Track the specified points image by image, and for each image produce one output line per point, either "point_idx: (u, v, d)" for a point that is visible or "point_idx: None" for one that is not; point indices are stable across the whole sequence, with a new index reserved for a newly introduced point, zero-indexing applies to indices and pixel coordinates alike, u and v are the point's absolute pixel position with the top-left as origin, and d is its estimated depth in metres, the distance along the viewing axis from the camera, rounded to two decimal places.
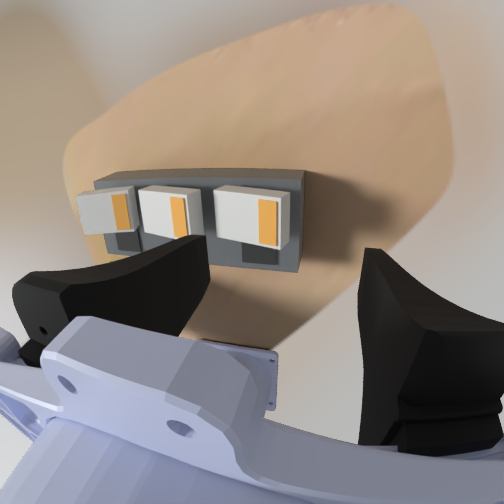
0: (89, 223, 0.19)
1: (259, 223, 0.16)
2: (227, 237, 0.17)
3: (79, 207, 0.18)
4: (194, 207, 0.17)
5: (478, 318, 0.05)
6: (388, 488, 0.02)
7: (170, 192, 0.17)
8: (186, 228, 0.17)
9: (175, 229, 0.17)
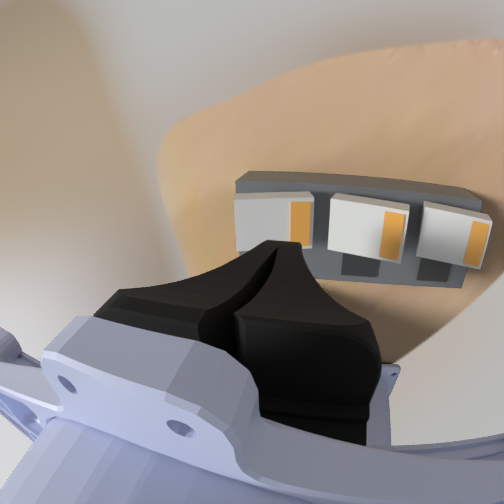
0: (248, 237, 0.16)
1: (467, 244, 0.13)
2: (428, 257, 0.14)
3: (237, 215, 0.15)
4: None
5: (335, 310, 0.05)
6: (388, 488, 0.02)
7: (382, 205, 0.14)
8: (398, 248, 0.14)
9: (382, 248, 0.14)
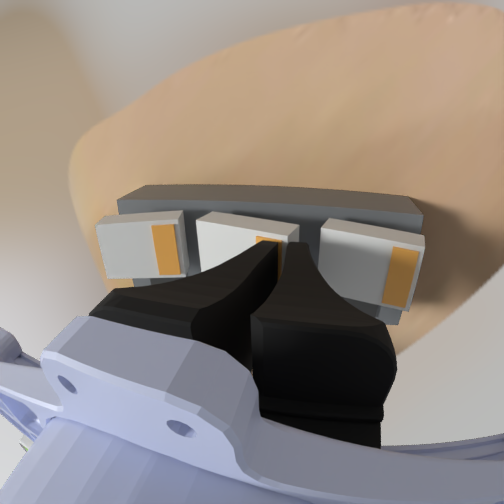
0: (116, 264, 0.13)
1: (386, 278, 0.11)
2: None
3: (100, 241, 0.13)
4: None
5: (350, 312, 0.05)
6: (388, 488, 0.02)
7: (255, 228, 0.11)
8: None
9: None
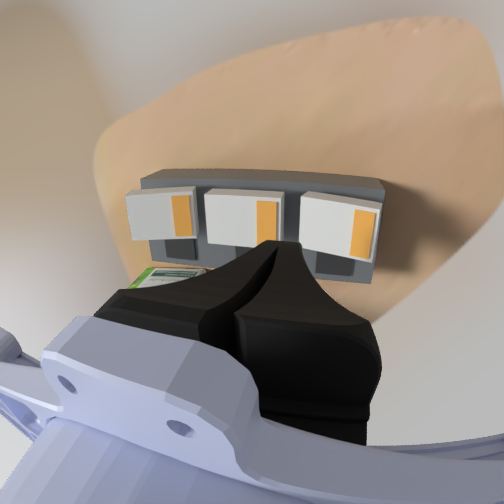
0: (140, 227, 0.17)
1: (352, 234, 0.14)
2: (311, 248, 0.16)
3: (129, 209, 0.17)
4: (282, 211, 0.16)
5: (335, 310, 0.05)
6: (388, 488, 0.02)
7: (254, 195, 0.15)
8: (275, 234, 0.16)
9: (259, 237, 0.16)
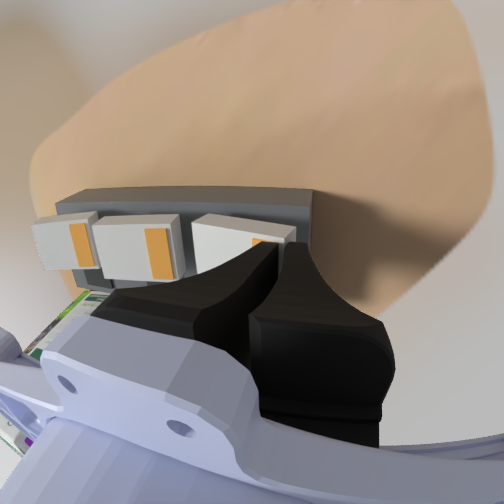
0: (48, 257, 0.14)
1: None
2: None
3: (35, 238, 0.14)
4: (176, 238, 0.13)
5: (348, 311, 0.05)
6: (388, 488, 0.02)
7: (142, 223, 0.12)
8: (170, 266, 0.13)
9: (153, 269, 0.13)
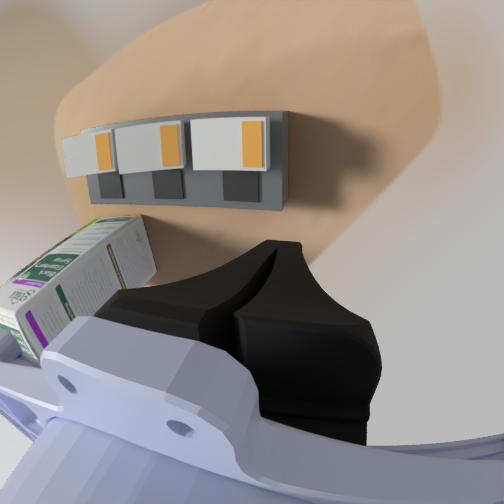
0: (72, 165, 0.18)
1: (242, 146, 0.15)
2: (205, 168, 0.16)
3: (64, 150, 0.17)
4: (182, 134, 0.17)
5: (336, 310, 0.05)
6: (388, 488, 0.02)
7: (157, 122, 0.16)
8: (178, 154, 0.16)
9: (163, 158, 0.16)
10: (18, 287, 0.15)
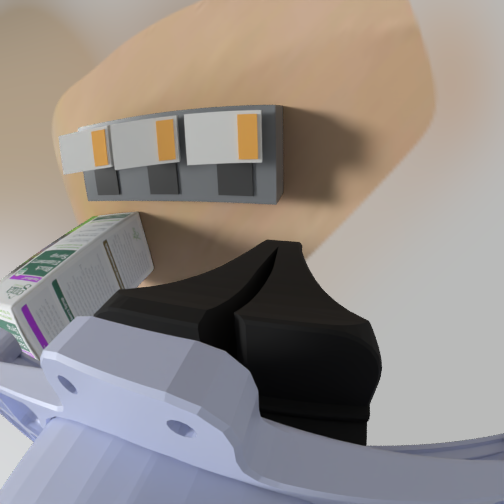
0: (69, 162, 0.18)
1: (237, 139, 0.15)
2: (200, 162, 0.16)
3: (61, 147, 0.17)
4: (177, 129, 0.17)
5: (336, 310, 0.05)
6: (388, 488, 0.02)
7: (153, 118, 0.16)
8: (174, 148, 0.17)
9: (160, 153, 0.17)
10: (15, 282, 0.15)
